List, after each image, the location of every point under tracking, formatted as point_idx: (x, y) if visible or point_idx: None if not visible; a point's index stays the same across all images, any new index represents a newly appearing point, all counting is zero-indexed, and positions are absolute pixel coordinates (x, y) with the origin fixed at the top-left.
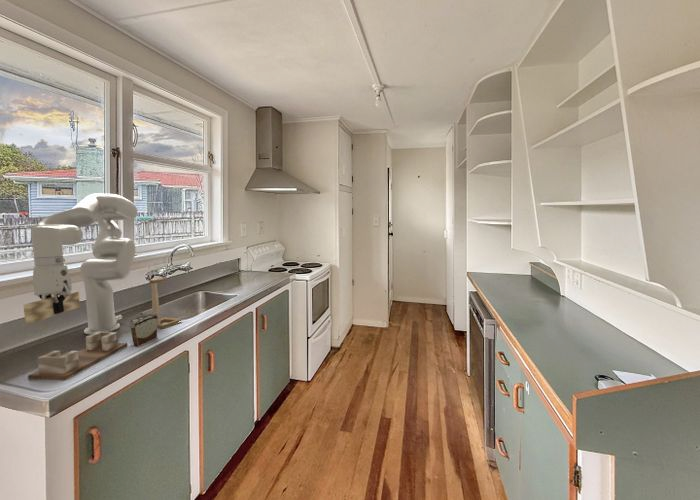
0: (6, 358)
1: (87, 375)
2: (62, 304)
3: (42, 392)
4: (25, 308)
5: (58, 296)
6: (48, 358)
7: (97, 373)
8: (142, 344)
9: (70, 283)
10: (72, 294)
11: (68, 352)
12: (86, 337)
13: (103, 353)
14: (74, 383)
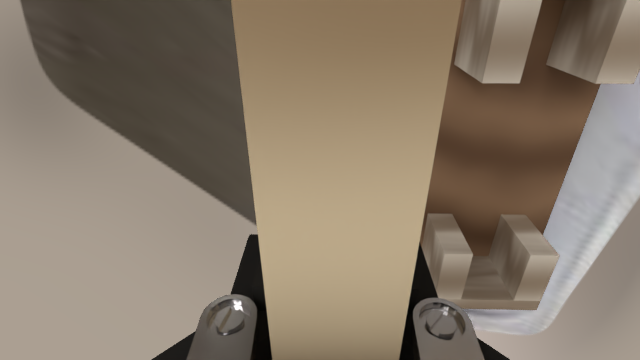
0: (120, 132)
1: (576, 243)
2: (430, 284)
3: (499, 318)
4: None
5: (354, 350)
6: (477, 306)
7: (606, 231)
8: None
9: None
10: (435, 97)
11: (525, 268)
12: (487, 82)
13: (570, 101)
14: (561, 283)
